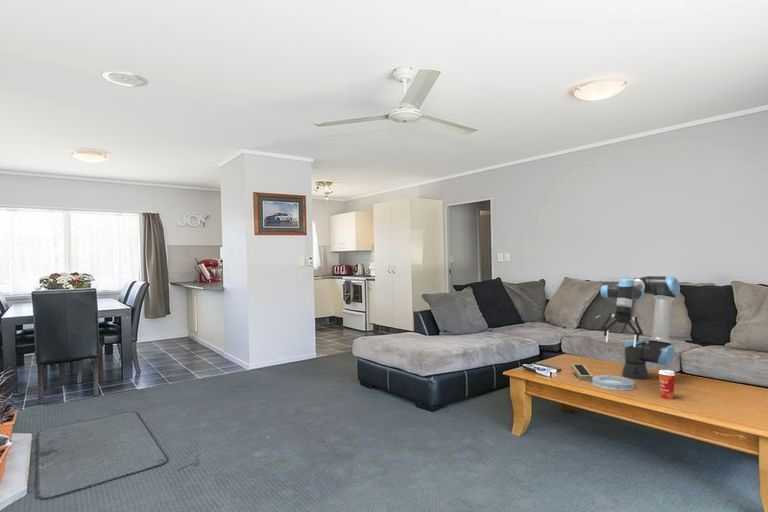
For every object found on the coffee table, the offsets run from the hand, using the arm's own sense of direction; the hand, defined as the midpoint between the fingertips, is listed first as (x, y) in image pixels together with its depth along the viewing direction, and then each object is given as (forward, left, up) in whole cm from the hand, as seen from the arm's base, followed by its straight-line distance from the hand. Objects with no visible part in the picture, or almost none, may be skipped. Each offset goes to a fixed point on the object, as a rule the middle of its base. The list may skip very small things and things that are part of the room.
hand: (620, 344), depth 241 cm
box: (-5, -35, -27) cm, 44 cm away
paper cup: (-17, +13, -27) cm, 35 cm away
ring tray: (-9, -15, -27) cm, 32 cm away
